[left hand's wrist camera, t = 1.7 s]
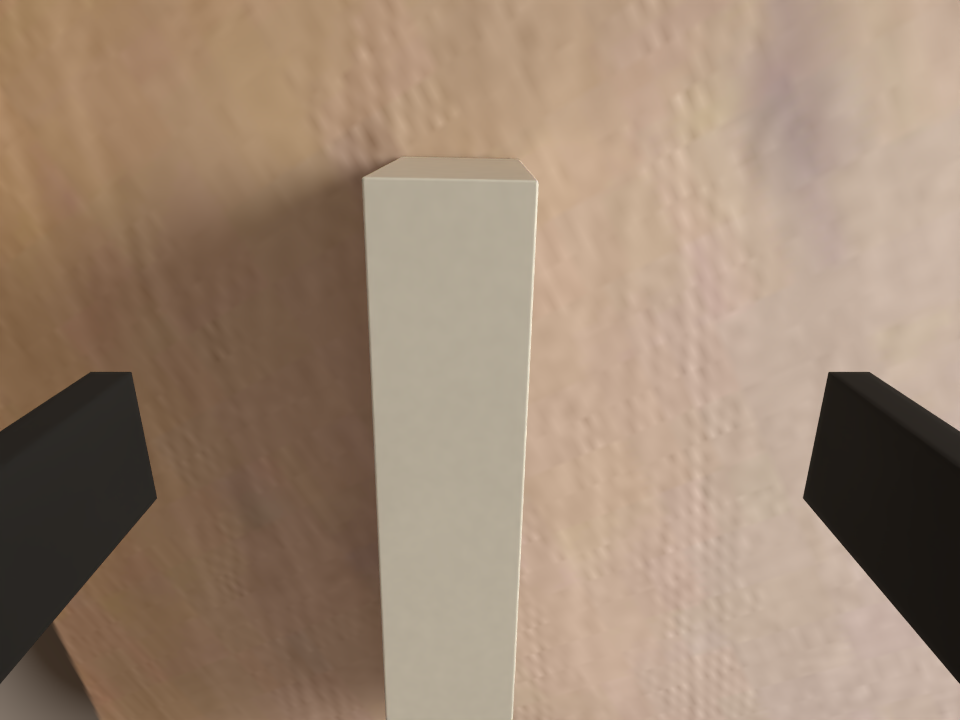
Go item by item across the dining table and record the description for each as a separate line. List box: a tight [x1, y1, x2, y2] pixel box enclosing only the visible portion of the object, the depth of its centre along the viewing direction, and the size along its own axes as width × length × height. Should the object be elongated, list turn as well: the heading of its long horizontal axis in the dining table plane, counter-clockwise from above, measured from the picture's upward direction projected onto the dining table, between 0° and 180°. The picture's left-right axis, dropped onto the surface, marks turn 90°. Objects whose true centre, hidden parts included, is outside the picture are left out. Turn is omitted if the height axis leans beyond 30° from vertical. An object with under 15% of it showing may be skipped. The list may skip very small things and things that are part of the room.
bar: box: [362, 157, 539, 720], centre depth 25 cm, size 26×4×9 cm, turn 179°
